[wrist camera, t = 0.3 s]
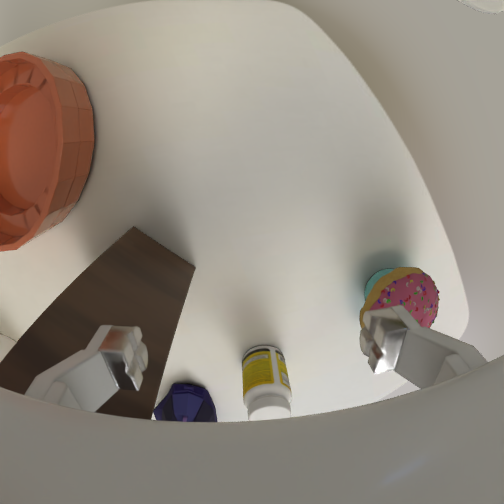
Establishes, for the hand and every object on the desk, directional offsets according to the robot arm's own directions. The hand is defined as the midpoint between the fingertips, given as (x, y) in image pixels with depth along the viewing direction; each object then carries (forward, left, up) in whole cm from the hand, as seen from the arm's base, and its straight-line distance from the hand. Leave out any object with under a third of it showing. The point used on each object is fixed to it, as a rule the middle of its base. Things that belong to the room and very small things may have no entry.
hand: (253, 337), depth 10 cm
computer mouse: (+26, -10, -16) cm, 32 cm away
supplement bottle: (+16, +1, -16) cm, 23 cm away
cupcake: (+8, +14, -16) cm, 23 cm away
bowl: (-10, -22, -16) cm, 29 cm away
